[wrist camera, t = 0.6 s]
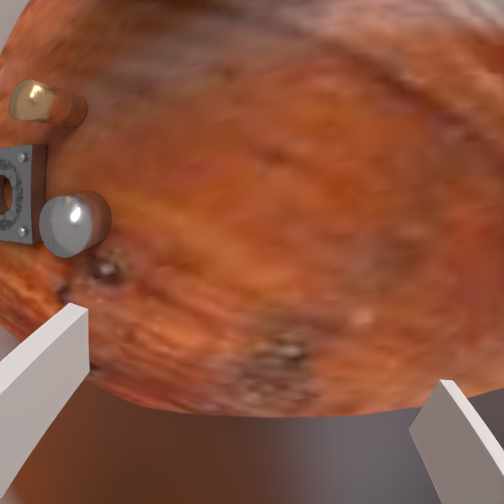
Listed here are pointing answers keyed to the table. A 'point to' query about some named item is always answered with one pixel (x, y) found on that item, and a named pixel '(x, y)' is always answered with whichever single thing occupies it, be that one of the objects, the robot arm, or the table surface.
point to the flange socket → (22, 192)
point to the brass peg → (46, 104)
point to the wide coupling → (74, 223)
